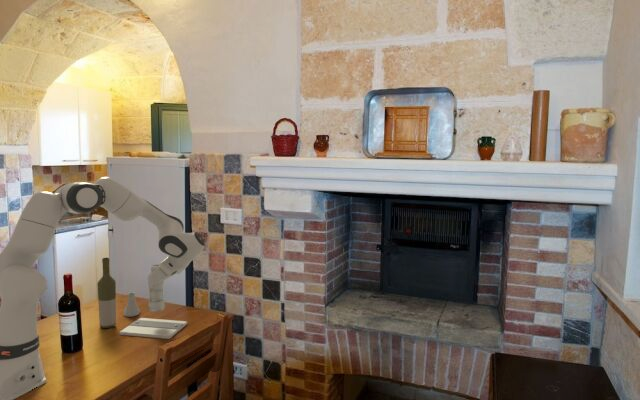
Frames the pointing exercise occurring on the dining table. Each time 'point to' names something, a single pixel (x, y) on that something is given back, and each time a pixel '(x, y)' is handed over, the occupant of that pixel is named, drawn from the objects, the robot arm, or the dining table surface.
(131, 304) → the flask
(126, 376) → the dining table surface
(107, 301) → the bottle
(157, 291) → the plastic bottle
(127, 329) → the white book
